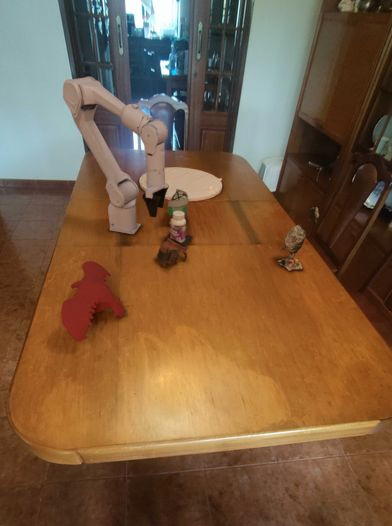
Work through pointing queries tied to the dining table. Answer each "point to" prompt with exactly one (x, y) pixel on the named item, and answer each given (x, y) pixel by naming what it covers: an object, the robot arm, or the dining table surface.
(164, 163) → the robot arm
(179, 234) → the pill bottle
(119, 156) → the dining table surface
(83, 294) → the red lobster claw
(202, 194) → the lazy susan
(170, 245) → the pottery mug
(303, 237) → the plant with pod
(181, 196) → the food container
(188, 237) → the coaster
